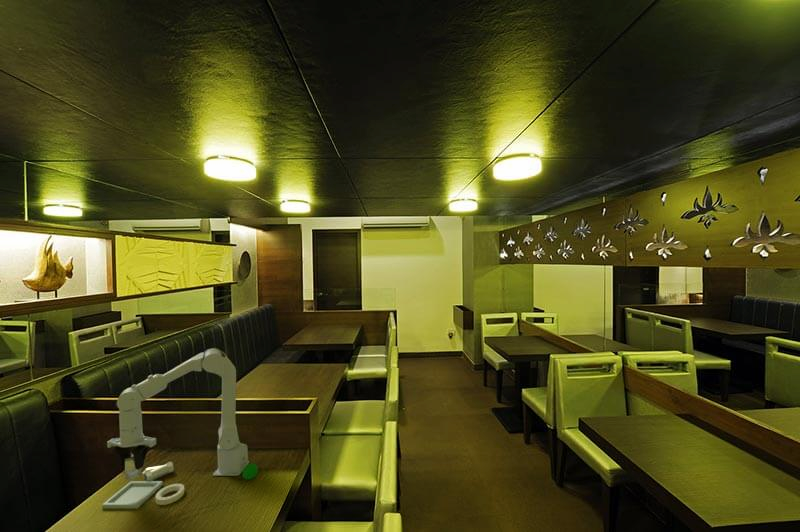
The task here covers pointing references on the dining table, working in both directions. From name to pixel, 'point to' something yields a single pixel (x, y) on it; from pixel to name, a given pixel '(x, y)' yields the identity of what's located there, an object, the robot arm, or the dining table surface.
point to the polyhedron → (250, 471)
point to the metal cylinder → (131, 467)
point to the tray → (132, 495)
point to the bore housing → (170, 499)
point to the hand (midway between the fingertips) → (132, 467)
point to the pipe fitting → (157, 471)
